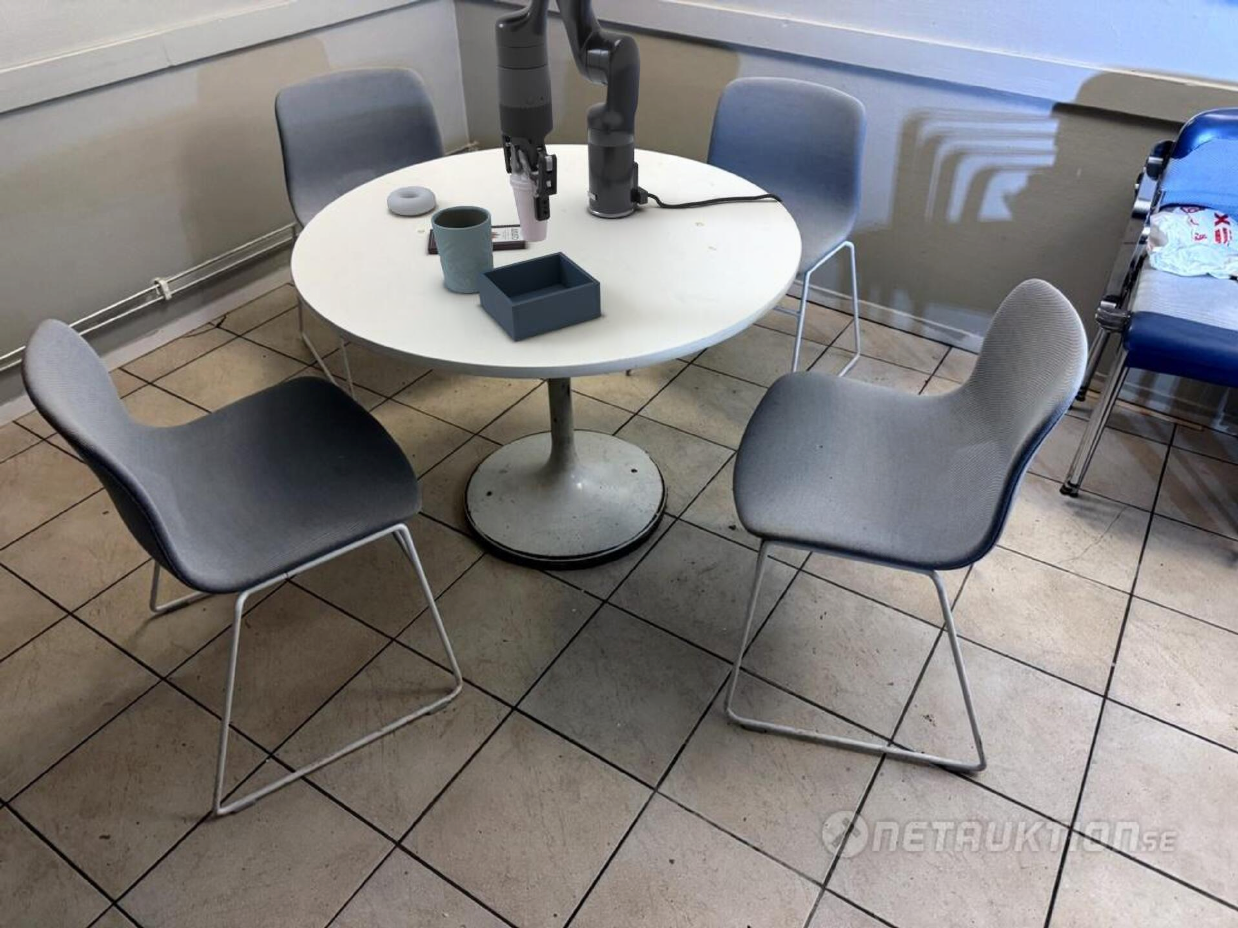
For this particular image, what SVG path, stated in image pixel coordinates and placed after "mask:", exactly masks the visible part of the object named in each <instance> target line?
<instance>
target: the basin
mask: <svg viewBox="0 0 1238 928" xmlns="http://www.w3.org/2000/svg"><path fill="white" fill-rule="evenodd" d="M477 279H478V287H479V292H478V294H479V295H478V296H479V302H480V303H479V304H480V307H481V308H482V309H483V310H484V311H485V312H486V313H487V314H488V315H489V316H490V317H491V318H492V319H493V321H495V322H496V324H498V325H499V326H500V327H501V328H502V329H503V331H505V333H506V334H508V336H509V337H510V338H511V339H512V340H513V341H514V342H519V341H521V340H524V339H527V338H528V339H529V338H531V337H535V336H537V335H541V334H545V333H548V332H551V331H555V330H558V329H562V328H566V327H568V326H573V325H575V324H579V323H583V322H586V321H589V320H593V319H596V318H599V317H602V300H601V282H600V280H598V279H597V278H595V277H594V276H592V275H591V274H590V273H589V272H587V271H586V270H585V269H584V268H583V267H581V266H580V265H579V264H577V263H576V262H575V261H573V260H572V259H571V258H570V257H568V256H567V254H565V253H564V252H563V251H558V252H554V253H549V254H545V255H542V256H537V257H533V258H529V259H525V260H521V261H518V262H513V263H510V264H509V263H508V264H505V265H501V266H498V267H494V268H493V269H489V270H485V271H481V272H478V273H477Z"/></svg>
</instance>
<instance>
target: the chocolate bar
mask: <svg viewBox="0 0 1238 928" xmlns="http://www.w3.org/2000/svg"><path fill="white" fill-rule="evenodd" d="M491 229H492V244H493V250H492V251H494V250H495V251H496V250H497V251H498V250H513V249H514V250H515V249H525V248H526V242H525V240H524V239H523V236H522V231H521V226H520V223H517V224H516V223H515V224H501V225H496V224H495V225H492V227H491ZM427 252H428V254H438V250H437V245H436V241H435V236H434V232H433V228H430V229H429V236H428V245H427Z"/></svg>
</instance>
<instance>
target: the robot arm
mask: <svg viewBox="0 0 1238 928" xmlns="http://www.w3.org/2000/svg"><path fill="white" fill-rule="evenodd" d="M555 3H556V6H557V8H558V11H559V14H560V16H561V19H562V22H563V25H564V29H565V31H566V36H567V38H568V43H569V47H570V50H571V54H572V56H573V60H574V63H575V66H576V69H577V71H578V73H579V75H580V76H581V77H582V78H583V80H585V81H586V82H588V83H590V84H593V85H596V86H601V87H606V94H605V95H606V96H605V101H599V102H596V103H594V104H592V105H591V106H589V107H588V108H587V111H586V127H587V128H586V130H587V131H586V133H587V134H586V135H587V168H588V171H587V172H588V190H587V197H588V211H589V212H590V214H592V215H594V216H596V217H600V218H601V217H602V218H605V219H606V218H607V219H608V218H609V219H610V218H611V219H613V218H615V219H616V218H622V217H627V216H629V215H631V214H633V212H635V211H637V210H639V205H640V206H642V205H646V204H648V203H649V202H648V201H649V198H651V199H653V200H654V201H655V202H656V204H657V205H658V206H659V207H662V208H665V209H683V208H689V207H699V206H705V205H711V204H716V203H723V202H739V201H741V202H742V201H743V202H745V201H758V200H763V199H773V200H775V201H776V202H778V203H782V202H783V200H782V198H781V197H780V196H779V195H776V194H773V193H765V194H760V195H750V196H749V195H747V196H746V195H743V196H725V197H717V198H712V199H706V200H705V199H704V200H699V201H689V202H684V203H677V204H670V203H669V204H668V203H664V202H662V200H661V199H660V198H659V197H658V196H657V195H656V194H653V193H650V192H649V191H648V190H646V189H644V188H643V187H642V186H640V185H639V163H638V162H637V161H635V132H636V131H635V124H636V123H635V122H636V121H635V120H636V113H637V111H638V105H639V93H640V90H639V89H640V76H641V52H640V47H639V44H638V41H637V40H636V38H635V37H634V36H632V35H630V34H627V33H622V32H617V31H610V30H604V29H603V28H602V27H601V24H600V23H599V20H598V18H597V16H596V11H595V10H594V6H593V0H555ZM549 5H550V0H530V1H529V2H528V5H526V6H525V7H524V8H522V9H519V10H516V11H512V12H511V11H510V12H507V13H505V14H501V15H500V16H498V17H497V18H496V19H495V21H494V25H493V35H494V36H493V37H494V43H495V57H496V88H497V89H496V90H497V100H498V112H499V124H500V131H501V132H502V133H501V143H502V149H503V156H504V157H503V158H504V164H505V171H506V173H507V174H508V175H509V174H510V175H511V174H512V173H514V172H519V171H520V170H524V171H525V175H526V179H527V181H528V182H530V183H531V184H532V190H533V194H534V208H535V218H536V219H537V220H538V221H544V220H550V219H551V205H550V196H554V195H557V194H558V156H557V155H556V154H555V153H553V154H548V151H547V147H546V142H545V139H546V137H547V136H548V135H550V134H551V133H552V132H553V129H554V120H553V119H554V118H553V117H554V116H553V99H552V81H551V74H550V68H549V56H548V40H547V38H548V35H547V34H548V33H547V29H548V27H547V26H548V14H549V13H548V12H549ZM537 171H538V174H536V175H534V174H532V172H537ZM537 180H538V185H537ZM549 181H550V183H549Z"/></svg>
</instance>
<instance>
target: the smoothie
mask: <svg viewBox="0 0 1238 928" xmlns="http://www.w3.org/2000/svg"><path fill="white" fill-rule="evenodd" d="M532 174H534V175H536V174H538V171H537V172H532ZM508 179H509V185H510V187H512V192H513V198H514V203H515V207H516V211H517V216H518V221H519V224H520V226H521V231H522V236H523V239H524V241H526V242H529V243H538V242H539V243H540V242H543V241H544V240H546V239H547V236H548V235H547V233H548V220H549V219H548V220H544V221H538V220H537V219H536V218H535V208H534V194H533V190H532V184H531V183H530V182H528V181H527V179H526V175H525V171H524V170H520V171H519V172H514V173H512V174H511V173H510V175H509V177H508ZM549 183H550V181H549ZM537 185H538V180H537Z"/></svg>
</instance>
